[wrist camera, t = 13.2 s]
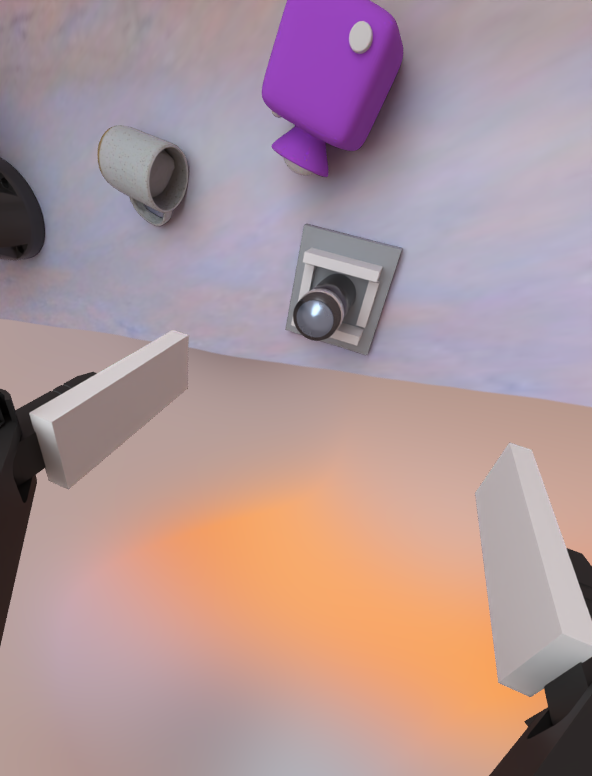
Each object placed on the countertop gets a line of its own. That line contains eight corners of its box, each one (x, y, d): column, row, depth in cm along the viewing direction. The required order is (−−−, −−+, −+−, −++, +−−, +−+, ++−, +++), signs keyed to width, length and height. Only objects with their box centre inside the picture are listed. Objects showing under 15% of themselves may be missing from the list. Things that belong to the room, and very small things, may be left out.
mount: (288, 327, 52) (277, 337, 49) (307, 223, 45) (296, 227, 41) (368, 351, 50) (363, 364, 47) (402, 248, 42) (399, 254, 39)
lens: (337, 321, 48) (315, 351, 40) (309, 293, 48) (281, 318, 39) (365, 294, 45) (349, 320, 37) (336, 263, 45) (313, 284, 36)
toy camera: (277, 163, 42) (240, 160, 34) (307, 2, 35) (267, -52, 27) (364, 190, 41) (346, 194, 33) (415, 28, 33) (408, -21, 25)
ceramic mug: (135, 124, 45) (87, 117, 39) (192, 146, 45) (152, 142, 38) (134, 212, 52) (92, 218, 45) (183, 233, 51) (148, 242, 44)
